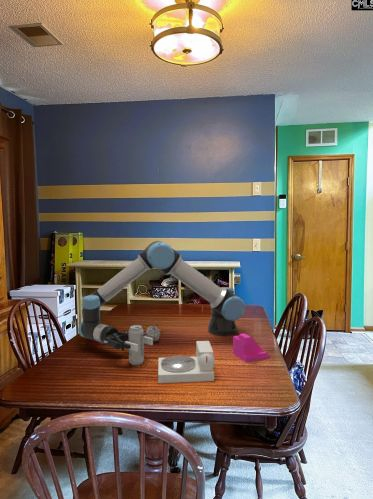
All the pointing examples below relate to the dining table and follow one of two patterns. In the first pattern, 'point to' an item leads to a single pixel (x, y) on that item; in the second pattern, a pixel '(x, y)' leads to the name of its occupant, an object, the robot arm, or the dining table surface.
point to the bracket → (248, 348)
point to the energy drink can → (138, 338)
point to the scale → (198, 373)
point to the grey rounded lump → (153, 332)
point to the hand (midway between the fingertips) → (144, 344)
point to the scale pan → (178, 363)
